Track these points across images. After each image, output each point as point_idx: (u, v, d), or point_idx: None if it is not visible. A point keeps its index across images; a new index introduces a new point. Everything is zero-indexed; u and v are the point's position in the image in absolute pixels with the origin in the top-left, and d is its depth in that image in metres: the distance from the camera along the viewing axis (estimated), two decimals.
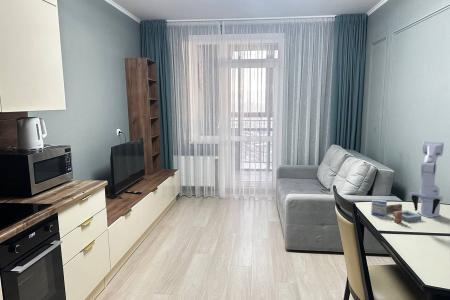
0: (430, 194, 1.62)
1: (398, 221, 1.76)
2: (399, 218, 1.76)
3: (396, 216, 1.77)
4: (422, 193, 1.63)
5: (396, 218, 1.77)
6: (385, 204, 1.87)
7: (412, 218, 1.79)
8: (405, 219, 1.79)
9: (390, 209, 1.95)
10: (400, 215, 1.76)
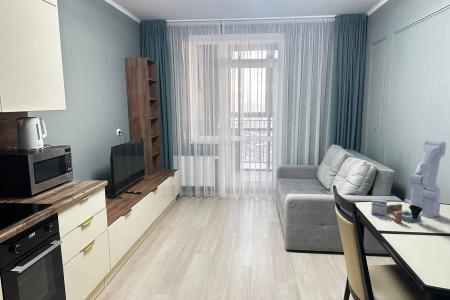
0: (417, 203, 1.75)
1: (398, 221, 1.76)
2: (399, 218, 1.76)
3: (396, 216, 1.77)
4: (410, 201, 1.78)
5: (396, 218, 1.77)
6: (385, 204, 1.87)
7: (412, 218, 1.79)
8: (405, 219, 1.79)
9: (390, 209, 1.95)
10: (400, 215, 1.76)
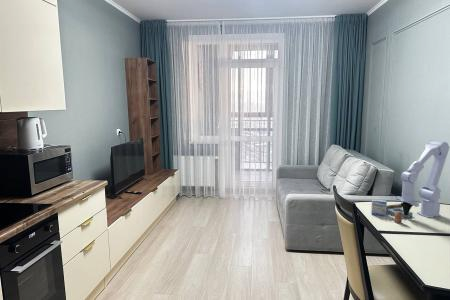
0: (407, 200, 1.81)
1: (398, 221, 1.76)
2: (399, 218, 1.76)
3: (396, 216, 1.77)
4: (401, 198, 1.84)
5: (396, 218, 1.77)
6: (385, 204, 1.87)
7: (403, 214, 1.85)
8: None
9: None
10: (400, 215, 1.76)
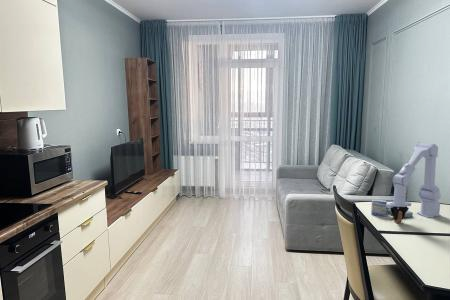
0: (405, 203, 1.75)
1: (398, 221, 1.76)
2: (399, 218, 1.76)
3: None
4: (401, 204, 1.74)
5: None
6: (385, 204, 1.87)
7: None
8: None
9: None
10: (400, 215, 1.76)
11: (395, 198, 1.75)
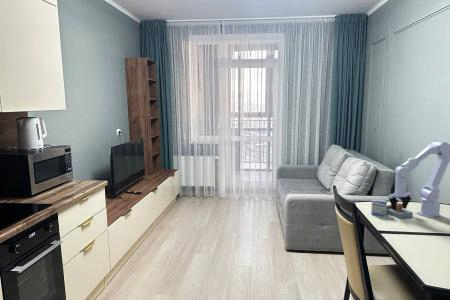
0: (405, 193, 1.87)
1: None
2: (400, 209, 1.88)
3: (397, 208, 1.89)
4: (402, 194, 1.86)
5: (397, 209, 1.89)
6: (385, 204, 1.87)
7: (403, 214, 1.85)
8: (397, 215, 1.85)
9: None
10: (401, 207, 1.88)
11: (396, 189, 1.87)
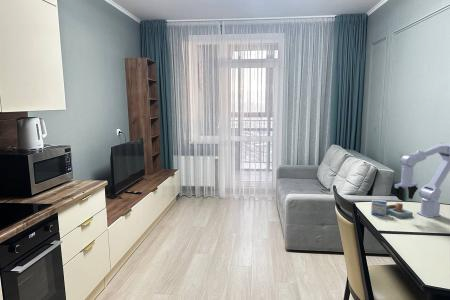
0: (412, 183, 1.84)
1: None
2: (400, 209, 1.88)
3: (397, 208, 1.89)
4: (408, 184, 1.82)
5: (397, 209, 1.89)
6: (385, 204, 1.87)
7: (403, 214, 1.85)
8: (397, 215, 1.85)
9: None
10: (401, 207, 1.88)
11: (402, 178, 1.84)
